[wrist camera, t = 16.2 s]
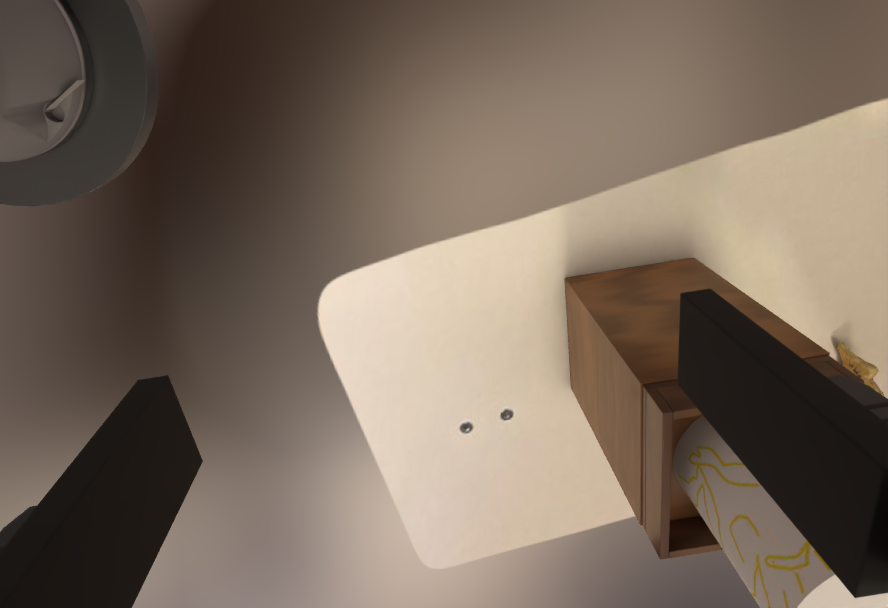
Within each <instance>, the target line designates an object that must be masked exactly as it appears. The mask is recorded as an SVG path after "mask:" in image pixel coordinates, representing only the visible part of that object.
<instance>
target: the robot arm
mask: <svg viewBox="0 0 888 608" xmlns="http://www.w3.org/2000/svg"><path fill="white" fill-rule="evenodd" d="M93 85H94V75H93V64H92V58H91V54H90V49H89V46H88V43H87V40H86V37H85V35H84V32H83V30H82V27H81V25H80V23H79V22H78V20H77V18H76V16H75V14H74V12H73V11H72V9H71V8H70V6H69V4H68V3H67V2H66V0H0V162H13V161H20V160H25V159H29V158H32V157H36V156H39V155H42V154H45V153H48V152H50V151H52V150H54V149H56V148H58V147H60V146H61V145H63V144H64V143H65V142H67V141H68V140H69V139H70V138H71V137H72V136H73V135H74V134H75V133H76V132H77V130H78V129H79V128H80V126H81V125H82V123H83V121H84V119H85V118H86V115H87V113H88V110H89V107H90V104H91V100H92V95H93ZM677 385H678V386H679V387H680V388H681V390H682V391H683V392H684V393H685V394H686V396H687V397H688V398H689V399H690V400H691V402H692V403H693V404H694V405H695V406H696V408H697V409H698V410H699V411H700V412H701V414H702V415H703V416H704V417H705V418H706V420H707V421H708V422H709V423H710V424H711V426H712V427H713V428H714V429H715V430H716V432H717V433H718V434H719V435H720V436H721V438H722V439H723V440H724V441H725V442H726V444H727V445H728V446H729V447H730V448H731V450H732V451H733V452H734V453H735V454H736V456H737V457H738V458H739V459H740V461H741V462H742V463H743V464H744V465H745V467H746V468H747V469H748V470H749V471H750V473H751V474H752V475H753V476H754V477H755V479H756V480H757V481H758V482H759V483H760V485H761V486H762V487H763V488H764V489H765V491H766V492H767V493H768V494H769V495H770V497H771V498H772V499H773V500H774V501H775V503H776V504H777V505H778V506H779V507H780V509H781V510H782V511H783V512H784V513H785V515H786V516H787V517H788V518H789V519H790V521H791V522H792V523H793V524H794V525H795V527H796V528H797V529H798V530H799V532H800V533H801V534H802V535H803V536H804V538H805V539H806V540H807V541H808V542H809V544H810V545H811V546H812V547H813V548H814V550H815V551H816V552H817V553H818V554H819V556H820V557H821V558H822V559H823V560H824V562H825V563H826V564H827V565H828V566H829V568H830V569H831V570H832V571H833V572H834V574H835V575H836V576H837V577H838V578H839V580H840V581H841V582H842V583H843V584H844V586H845V587H846V588H847V589H848V590H849V592H850V593H851V594H852V595H853V596H854V598H860V597H866V596H872V595H878V594H884V593H888V399H887V398H885V397H884V396H883V395H881V394H880V393H878V392H877V391H876V390H874V389H873V388H871V387H870V386H868V385H865V384H863V383H861V382H858V381H856V380H853V379H851V378H848V377H846V376H844V375H841V374H840V375H833V376H827V377H826V376H824V375H823V374H822V373H820V372H819V371H818V370H816V369H815V368H814V367H813V366H811V365H810V364H809V363H807V362H806V361H805V360H803V359H802V358H801V357H799V356H798V355H797V354H796V353H794V352H793V351H792V350H790V349H789V348H788V347H786V346H785V345H784V344H782V343H781V342H780V341H778V340H777V339H776V338H775V337H773V336H772V335H771V334H769V333H768V332H767V331H765V330H764V329H763V328H761V327H760V326H759V325H758V324H756V323H755V322H754V321H752V320H751V319H750V318H748V317H747V316H746V315H744V314H743V313H742V312H741V311H739V310H738V309H737V308H735V307H734V306H733V305H731V304H730V303H729V302H727V301H726V300H725V299H724V298H722V297H721V296H720V295H718V294H717V293H716V292H714V291H713V290H712V289H710V288H709V289H703V290H697V291H690V292H684V293H680V321H679V352H678V382H677ZM202 462H203V461H202V458H201V456H200V453H199V451H198V448H197V446H196V443H195V441H194V438H193V436H192V434H191V431H190V428H189V426H188V423H187V421H186V419H185V416H184V414H183V411H182V409H181V406H180V404H179V401H178V399H177V396H176V394H175V391H174V389H173V386H172V384H171V382H170V379H169V377H168V376H161V377H155V378H149V379H143V380H138V381H137V382H136V383H135V385H134V386H133V387H132V388H131V390H130V391H129V392H128V393H127V395H126V396H125V397H124V398H123V400H122V401H121V402H120V403H119V405H118V406H117V407H116V408H115V409H114V411H113V412H112V413H111V414H110V416H109V417H108V418H107V419H106V421H105V422H104V423H103V425H102V426H101V427H100V428H99V429H98V431H97V432H96V433H95V435H94V436H93V437H92V438H91V439H90V441H89V442H88V443H87V444H86V446H85V447H84V448H83V449H82V451H81V452H80V453H79V454H78V456H77V457H76V458H75V460H74V461H73V462H72V463H71V464H70V466H69V467H68V468H67V469H66V471H65V472H64V473H63V474H62V476H61V477H60V478H59V479H58V481H57V482H56V483H55V484H54V486H53V487H52V488H51V489H50V491H49V492H48V493H47V494H46V495H45V497H44V498H43V499H42V501H41V502H40V503H39V504H38V506H32V507H29V508H28V509H27V510H25V511H24V512H23V513H22V514H21V515H19V516H18V517H17V518H15V519H14V520H13V521H12V522H10V523H9V524H8V525H7V526H6V527H4V528H3V529H2V531H1V532H0V608H132V606H133V604H134V602H135V600H136V598H137V596H138V593H139V592H140V589H141V587H142V585H143V583H144V581H145V579H146V577H147V575H148V573H149V571H150V569H151V567H152V565H153V563H154V561H155V559H156V557H157V554H158V552H159V550H160V548H161V546H162V544H163V542H164V540H165V538H166V536H167V534H168V532H169V530H170V528H171V526H172V523H173V522H174V519H175V517H176V515H177V513H178V511H179V509H180V507H181V505H182V503H183V501H184V499H185V497H186V495H187V493H188V491H189V489H190V486H191V484H192V482H193V480H194V478H195V476H196V474H197V472H198V470H199V468H200V466H201V464H202Z"/></svg>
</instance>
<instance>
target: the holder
mask: <svg viewBox="0 0 888 608" xmlns="http://www.w3.org/2000/svg"><path fill="white" fill-rule="evenodd" d="M803 360H805V361H806V362H807V363H809V364H810V365H811V366H813V367H814V368H815V369H816V370H818V371H819V372H820V373H822V374H823V375H824V376H826V377H827V376H833V375H840V374H841V375H844V376H846V377H848V378H851V379H853V380H856V381H858V382H861V383H863V384H864V382H865V381H864V380H863V379H861V378H860V377H858V376H857V375H855V374H854V373H853V372H851V371H850V370H848V369H847V368H846V367H844V366H843V365H841V364H840V363H839V362H837V361H836V360H834V359H833V358H832V357H830V356H829V355H826V356H820V357H813V358H807V359H803ZM677 382H678V379H677V380H671V381H665V382H658V383H652V384H646V385H643V444H642V525H643V527H644V529H645V530H646V532H647V535H648V536H649V539H650V540H651V543H652V544H653V546H654V548H655V550H656V552H657V554H658V556H659V558H660V559H667V558H674V557H680V556H686V555H692V554H699V553H705V552H711V551H717V550H723V549H722V548H721V546H720V544H719V543H718V541H717V540H716V538H715V537H714V535H713V534H712V532H711V530H710V529H709V527H708V526H707V524H706V523H705V521H704V520H703V518H702V516H701V515H700V513H699V512H698V510H697V509H696V507H695V506H694V504H693V502H692V501H691V499H690V498H689V496H688V495H687V493H686V492H685V490H684V489H683V487H682V485H681V484H680V482H679V481H678V479H677V477H676V475H675V472H674V467H673V458H674V453H675V449H676V446H677V444H678V442H679V440H680V438H681V437H682V435H683V434H684V432H685V431H686V430H687V428H688V427H689V426H690V425H691V424H692V423H693V422H694V421H695V420H697V419H698V418H699V417H700V416H702V414H701V412H700V411H699V410H698V409H697V408H696V406H695V405H694V404H693V403H692V402H691V400H690V399H689V398H688V397H687V396H686V394H685V393H684V392H683V391H682V390H681V388H680V387H679V386H678V385H677Z"/></svg>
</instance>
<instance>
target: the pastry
mask: <svg viewBox="0 0 888 608" xmlns="http://www.w3.org/2000/svg"><path fill="white" fill-rule="evenodd" d="M838 351H839V354H840V357H841V359H842V361H843V364H842V365H843V366H844V367H846V368H847V369H848V370H850V371H851V372H853V373H854V374H855V375H857V376H858V377H860V378H861V379H863V380H864V381H865V382H864V384H865V385H868V386H870V387H871V388H873V389H874V390H876V391H877V392H878V393H880V394H881V395H883V396H884V394H883V392H882V391H881V390H880V389H879V387H878V385H877V384H876V383H875V382H874V381H873V378H874V377H875V375H876V374H877V372H878V369H877V367H876V366H875V365H872V364H870V363H868V362H866V361H864V360H863V359H861V358H860V357H858V356H856V355H855V354H854V353H853V352H852V351H851V350H850V349H848V348H847V347H846V346H845V345H844V344H843V343H840V342H839V344H838Z"/></svg>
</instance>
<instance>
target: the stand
mask: <svg viewBox="0 0 888 608" xmlns="http://www.w3.org/2000/svg"><path fill="white" fill-rule="evenodd" d="M709 288H710V289H712V290H713V291H714V292H716V293H717V294H718V295H720V296H721V297H722V298H724V299H725V300H726V301H727V302H729V303H730V304H731V305H733V306H734V307H735V308H737V309H738V310H739V311H741V312H742V313H743V314H744V315H746V316H747V317H748V318H750V319H751V320H752V321H754V322H755V323H756V324H758V325H759V326H760V327H761V328H763V329H764V330H765V331H767V332H768V333H769V334H771V335H772V336H773V337H775V338H776V339H777V340H778V341H780V342H781V343H782V344H784V345H785V346H786V347H788V348H789V349H790V350H792V351H793V352H794V353H796V354H797V355H798V356H799V357H801V358H802V359H807V358H813V357H820V356H826V355H829V354H830V353H829V352H827V351H826V350H825V349H823V348H822V347H820V346H819V345H817V344H816V343H815V342H813V341H812V340H810V339H809V338H807V337H806V336H805V335H803V334H802V333H800V332H799V331H797V330H796V329H795V328H793V327H792V326H790V325H789V324H788V323H786V322H785V321H783V320H782V319H780V318H779V317H778V316H776V315H775V314H773V313H772V312H770V311H769V310H768V309H766V308H765V307H763V306H762V305H760V304H759V303H758V302H756V301H755V300H753V299H752V298H750V297H749V296H748V295H746V294H745V293H743V292H742V291H741V290H739V289H738V288H736V287H735V286H733V285H732V284H731V283H729V282H728V281H726V280H725V279H723V278H722V277H721V276H719V275H718V274H716V273H715V272H713V271H712V270H711V269H709V268H708V267H706V266H705V265H704V264H702V263H701V262H699V261H698V260H696V259H695V258H689V259H683V260H677V261H670V262H664V263H658V264H652V265H646V266H639V267H633V268H627V269H621V270H614V271H608V272H602V273H596V274H589V275H583V276H577V277H571V278H565V292H566V309H567V326H568V342H569V359H570V376H571V389H572V391H573V393H574V395H575V397H576V399H577V401H578V403H579V405H580V407H581V409H582V411H583V412H584V414H585V416H586V418H587V420H588V422H589V424H590V426H591V428H592V430H593V432H594V434H595V436H596V438H597V440H598V442H599V444H600V446H601V448H602V450H603V452H604V454H605V456H606V458H607V460H608V462H609V464H610V466H611V468H612V470H613V472H614V474H615V476H616V478H617V480H618V482H619V484H620V486H621V488H622V490H623V492H624V494H625V495H626V497H627V499H628V501H629V503H630V505H631V507H632V509H633V511H634V513H635V515H636V517H637V519H638V521H639V523H640V525H642V444H643V385H646V384H652V383H658V382H665V381H671V380H677V379H678V352H679V321H680V293H684V292H690V291H697V290H703V289H709Z"/></svg>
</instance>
